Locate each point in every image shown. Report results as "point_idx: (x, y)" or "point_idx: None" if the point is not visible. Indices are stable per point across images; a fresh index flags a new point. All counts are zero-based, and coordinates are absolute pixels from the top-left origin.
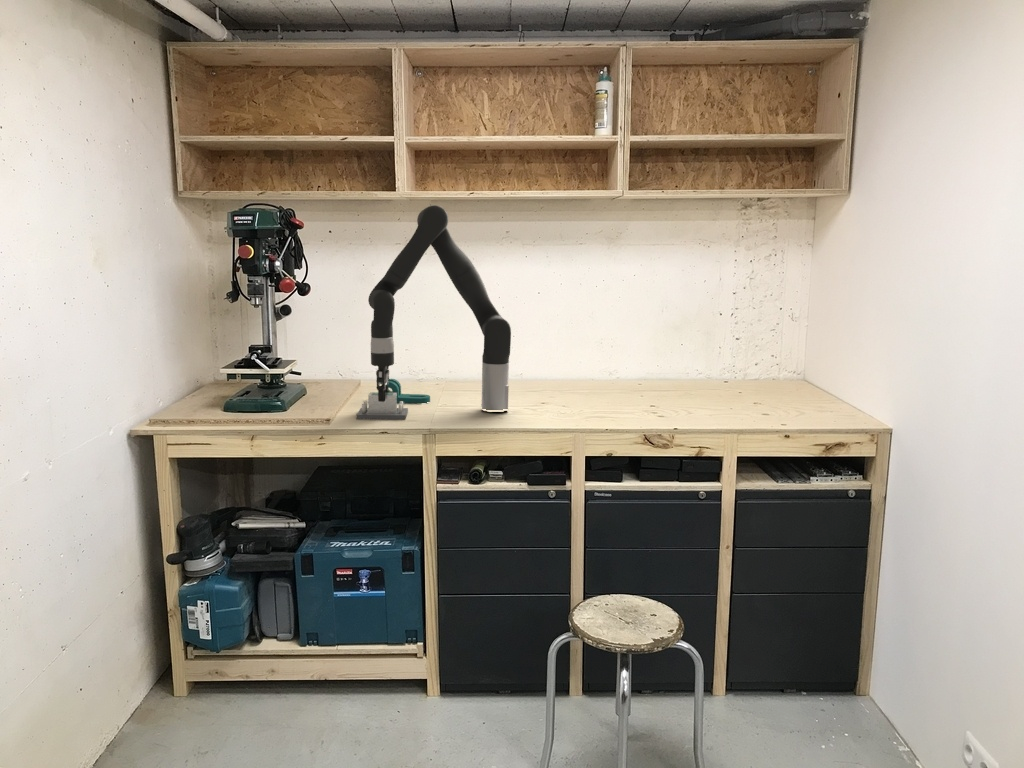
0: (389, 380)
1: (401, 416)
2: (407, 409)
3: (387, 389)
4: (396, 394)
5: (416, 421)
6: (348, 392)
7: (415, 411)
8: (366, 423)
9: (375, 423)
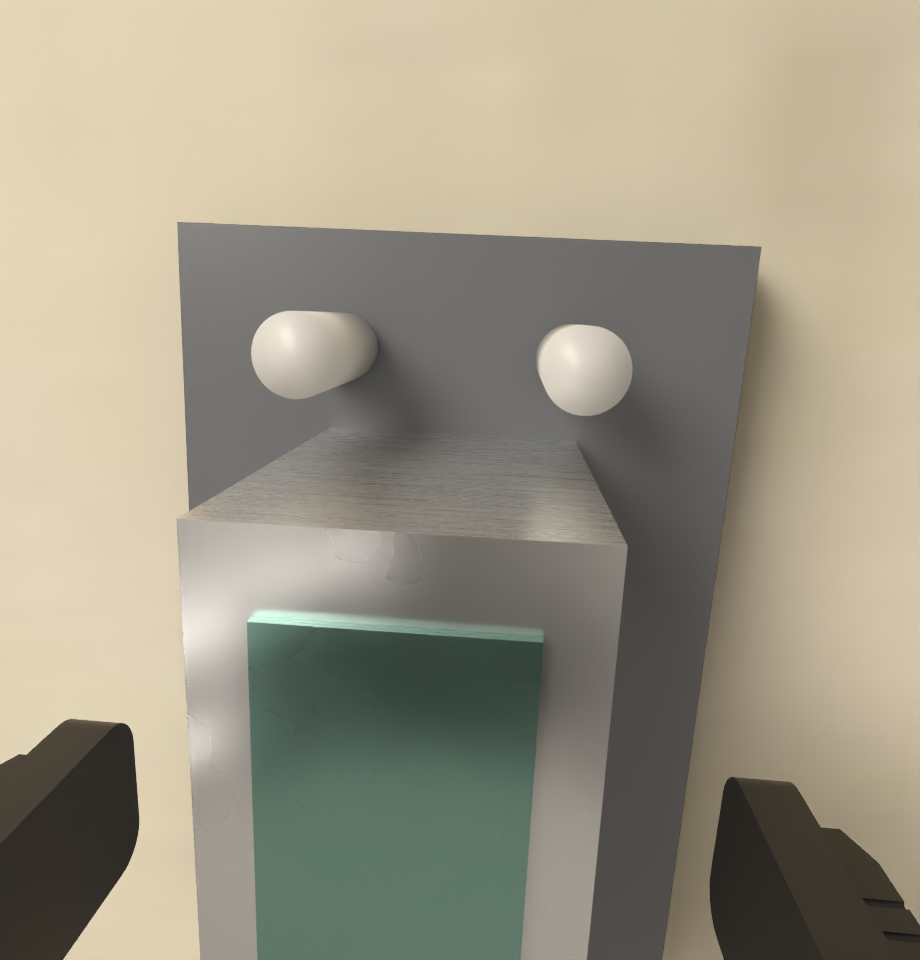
0: None
1: (742, 329)
2: (286, 227)
3: (12, 836)
4: (347, 521)
5: (884, 38)
6: None
7: (128, 92)
8: (894, 832)
9: (915, 717)
